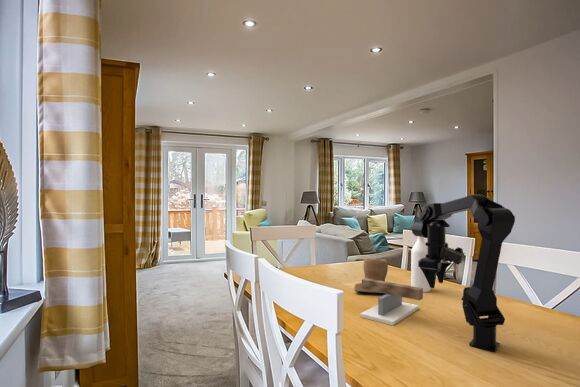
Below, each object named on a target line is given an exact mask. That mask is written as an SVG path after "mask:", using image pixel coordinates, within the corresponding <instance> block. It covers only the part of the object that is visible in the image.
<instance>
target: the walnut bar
mask: <svg viewBox="0 0 580 387" xmlns="http://www.w3.org/2000/svg"><path fill="white" fill-rule="evenodd" d="M361 283H362V289H366V290H371V291H375V292H380V293H379V294H384V295H385V294H390V295H395V296H400V297H402V298H406V299H410V300H414V301H415V300H416V301H421V300H423V299H424V292H423V288H419V287H413V286H411V285H407V284H401V283H397V282H396V283H395V282H390V281H380V280H374V279H368V278H365V277H364V278H362V279H361Z"/></svg>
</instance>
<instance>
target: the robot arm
mask: <svg viewBox="0 0 580 387" xmlns="http://www.w3.org/2000/svg"><path fill="white" fill-rule="evenodd" d="M466 211H470V213H471V216H472V217H473V219H475V220H476V221H477V230H478V232H479V234H480V237H481V241H480V247H479V252H478V258H477V262H476V268H475V271H474V272H475V273H474V279H473V284H472V285H471V286H467V287H463V288H464V289H463V293H462V297H461V301H462V302H461V304H462V310H463V314H464V318H465V322H466V323H467V324H469V326H472V330H473V331H472V334H473V335H472V339H471V341H470V342H469V343H468V345H469V346H470V347H473V348H474V347H475V348H477V349H482V350H484V351H485V350H486V351H489V352H493V353H496V351H497V350H498V349H499V347H500V342H497V326H503V325H504V324H505V320H506V318H505V316H504V315H503V313H502V312H501V310H500V308H499V306H498V300H497V299H498V298H497V296H496V293H495V291H494V284H495V279H496V275H497V270H498V265H499V259H500V255H501V249H502V245H503V242H504V241H505V240H506V239H507V237H508V236H509V235H510V234H511V232H512V231H513V227H514V225H515V222H516V217H515V215H514V214H513V212H512V211H511V210H510V209H508V208H505V206H503V205H502V204H500V203H498V202H496V201H494V200H491V199H490V198H489V197H487V195H484V194H469V195H467V196H464V197H460V198H456V199H453V200H450V201H446V202H430V203H429V202H428V203H426V204H425V205H424V207H423V209H422V212H421V213H420V215H419V217H418V218H416V221H415V222H414V223H413V224H412V226H411V232H412V234H413V235H414V236H415V237H417V238H418V237H423V238H424V239H427V241H425V243H426V246H427V250H428V254H426V257H424V258H422V259H420V260H419V261H418V267H420V269H421V270H422V272H423V273H424V275H425V277H426V279H427V281H428V283H429V286H430V289H435V286H436V282H437V281H438V283H440V284H443V283H444V279H445V275H446V271H447V268H448V267H450V266H451V265H452V264H455V265H460V264H462V263H463V260H464V258H465V255H466V254H465V252H464V248H461V247H459V246H457V247H456V248H455V249H454V248H451V247H449V244H448V242H446V228H450V224H449V223H448V222H447V221H446V220H447V219H448V218H451V217H452V215H455V214H458V213H463V212H466ZM436 280H437V281H436Z"/></svg>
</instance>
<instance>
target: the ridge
mask: <svg viewBox="0 0 580 387" xmlns="http://www.w3.org/2000/svg"><path fill="white" fill-rule="evenodd" d="M377 298H378V299H377V300H378V302H377V304H376V305H374V306H372V307H370V308H368V309H366V310H365V311H362V312H361V313H360V316H359V317H361V318H363V319H367V320H371V321H375V322H378V323H382V324H386V325H390V326H394V325H397V323H399V322H401V321H402V320H404V319H406V318H407V317H408V316H409V315H411V314H413V313H414V312H416V311H417V310H419V304H414V303H409V302H404V301H403V297H400V296H395V295H390V294H385V293H384V294H383V295H381V296H379V297H377Z"/></svg>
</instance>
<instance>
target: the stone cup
mask: <svg viewBox="0 0 580 387" xmlns="http://www.w3.org/2000/svg"><path fill="white" fill-rule="evenodd" d="M362 266H363V274H364V278H368V279H374V280H380V281H385V280H386V278H387V275H388V270H389V268H388V267H389V263H388V260H387V259H384V258H383V259H382V258H374V257H364V260H363V265H362ZM385 282H386V281H385ZM353 291H354V292H357V293H367V294H368V293H369V294H381V293H380V292H375V291H371V290H366V289H362V282H360V283H358V282H357V283H355V284H354V290H353Z"/></svg>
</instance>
